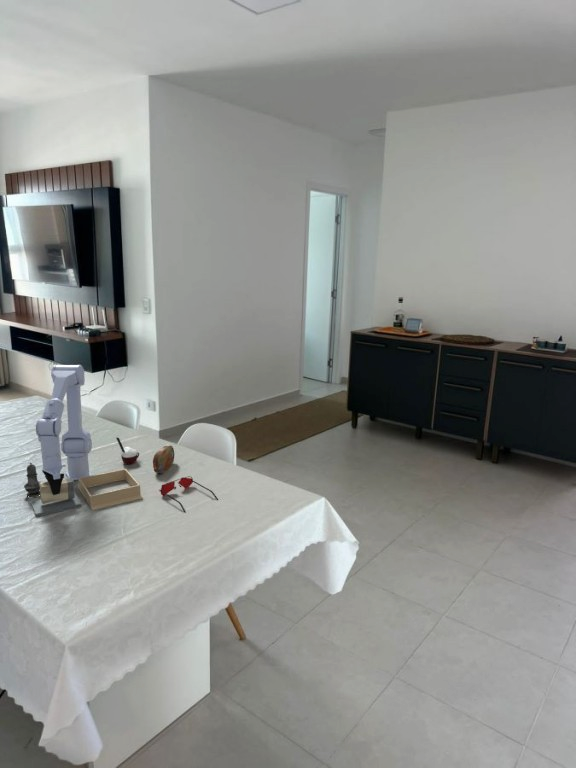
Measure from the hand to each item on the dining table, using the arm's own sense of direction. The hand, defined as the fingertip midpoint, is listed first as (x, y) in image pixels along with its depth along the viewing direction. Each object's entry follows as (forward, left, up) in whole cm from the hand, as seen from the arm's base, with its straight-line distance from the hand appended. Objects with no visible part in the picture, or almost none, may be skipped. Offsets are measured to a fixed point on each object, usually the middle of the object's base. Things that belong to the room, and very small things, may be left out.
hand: (54, 491), depth 177 cm
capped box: (0, +1, -3) cm, 3 cm away
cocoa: (-24, +32, -5) cm, 40 cm away
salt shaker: (-13, -5, -5) cm, 15 cm away
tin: (-11, +42, -5) cm, 44 cm away
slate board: (0, 0, -5) cm, 5 cm away
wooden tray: (-1, +18, -5) cm, 19 cm away
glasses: (+18, +40, -6) cm, 44 cm away
